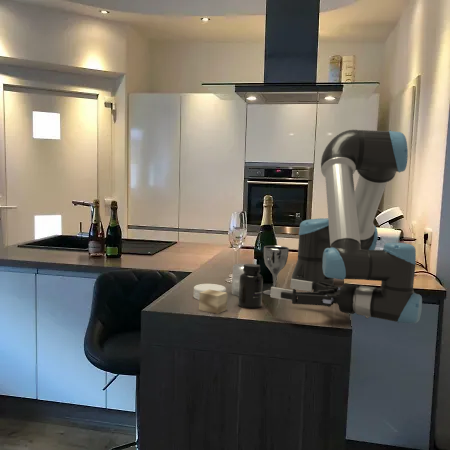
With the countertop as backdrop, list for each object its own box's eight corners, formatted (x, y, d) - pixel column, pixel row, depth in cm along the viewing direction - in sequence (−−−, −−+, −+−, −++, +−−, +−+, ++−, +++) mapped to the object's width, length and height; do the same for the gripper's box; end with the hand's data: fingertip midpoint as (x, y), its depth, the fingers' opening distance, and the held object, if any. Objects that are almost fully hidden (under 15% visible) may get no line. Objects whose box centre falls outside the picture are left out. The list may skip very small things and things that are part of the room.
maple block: (226, 310, 138) (227, 292, 137) (217, 314, 134) (218, 296, 133) (208, 306, 141) (209, 289, 140) (199, 310, 137) (199, 292, 136)
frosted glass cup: (253, 291, 161) (254, 264, 159) (253, 297, 154) (255, 268, 153) (232, 290, 161) (233, 263, 160) (231, 295, 154) (232, 267, 153)
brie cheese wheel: (188, 295, 154) (189, 284, 153) (217, 293, 158) (218, 282, 157) (200, 303, 145) (200, 291, 144) (230, 301, 149) (231, 289, 148)
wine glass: (282, 290, 165) (284, 245, 163) (289, 295, 157) (291, 249, 156) (259, 290, 164) (261, 245, 162) (265, 295, 156) (267, 249, 154)
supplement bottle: (259, 309, 139) (262, 268, 138) (236, 307, 140) (238, 266, 139) (262, 303, 146) (264, 264, 145) (240, 301, 147) (242, 262, 146)
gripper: (341, 325, 117) (261, 310, 127) (368, 304, 138) (297, 292, 149) (343, 294, 116) (262, 281, 127) (370, 278, 137) (299, 268, 148)
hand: (281, 287), depth 138 cm, fingers open, 13 cm apart
